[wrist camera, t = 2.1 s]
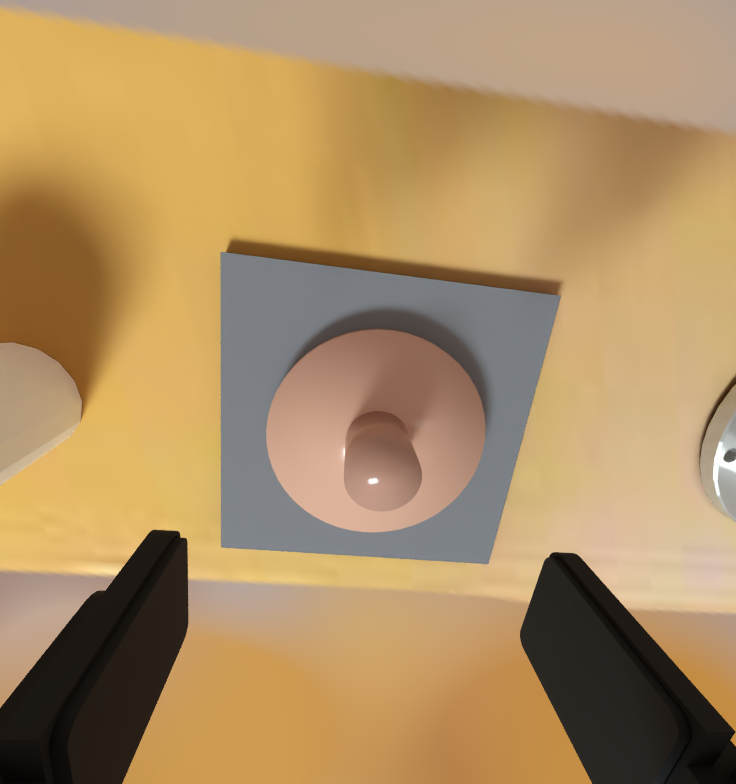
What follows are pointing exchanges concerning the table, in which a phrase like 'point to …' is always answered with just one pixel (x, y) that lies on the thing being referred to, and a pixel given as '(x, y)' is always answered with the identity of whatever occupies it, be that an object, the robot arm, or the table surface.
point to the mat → (349, 313)
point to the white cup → (33, 407)
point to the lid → (375, 430)
